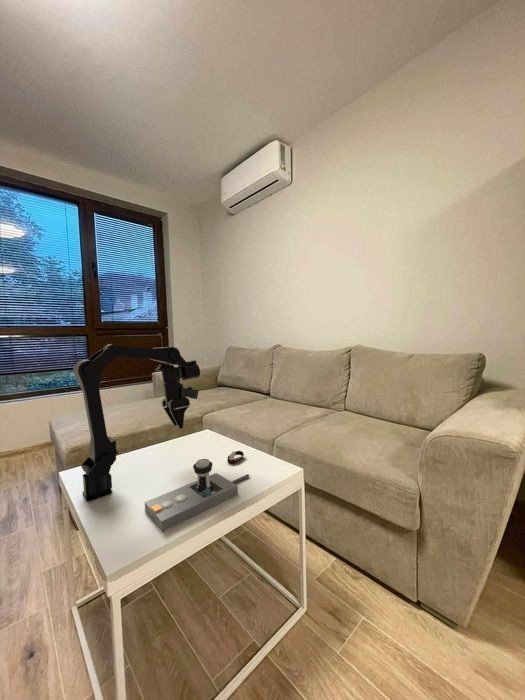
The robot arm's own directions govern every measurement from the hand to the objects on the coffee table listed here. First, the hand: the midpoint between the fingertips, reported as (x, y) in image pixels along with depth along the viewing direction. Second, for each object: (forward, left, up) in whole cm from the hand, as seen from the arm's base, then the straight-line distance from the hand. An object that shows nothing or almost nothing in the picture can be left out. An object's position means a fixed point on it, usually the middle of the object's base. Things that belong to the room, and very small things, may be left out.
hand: (178, 426), depth 98 cm
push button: (-3, -23, -15) cm, 27 cm away
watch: (+17, -10, -15) cm, 24 cm away
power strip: (-3, -23, -14) cm, 27 cm away
